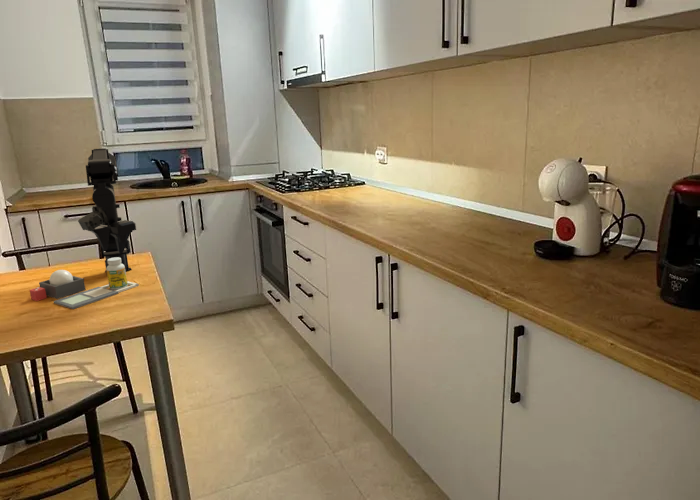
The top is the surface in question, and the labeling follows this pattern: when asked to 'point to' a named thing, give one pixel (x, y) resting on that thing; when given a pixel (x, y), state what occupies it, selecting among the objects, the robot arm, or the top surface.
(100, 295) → the game board
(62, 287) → the dome housing
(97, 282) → the top surface
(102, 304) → the top surface
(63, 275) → the dome
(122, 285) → the supplement bottle
